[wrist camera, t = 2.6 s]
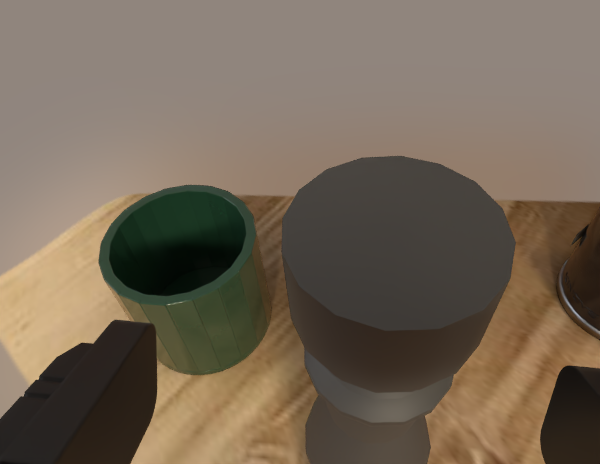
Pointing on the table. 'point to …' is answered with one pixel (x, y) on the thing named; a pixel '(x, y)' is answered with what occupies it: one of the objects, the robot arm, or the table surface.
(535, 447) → the table surface
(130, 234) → the pot
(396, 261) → the candle holder
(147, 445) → the table surface
